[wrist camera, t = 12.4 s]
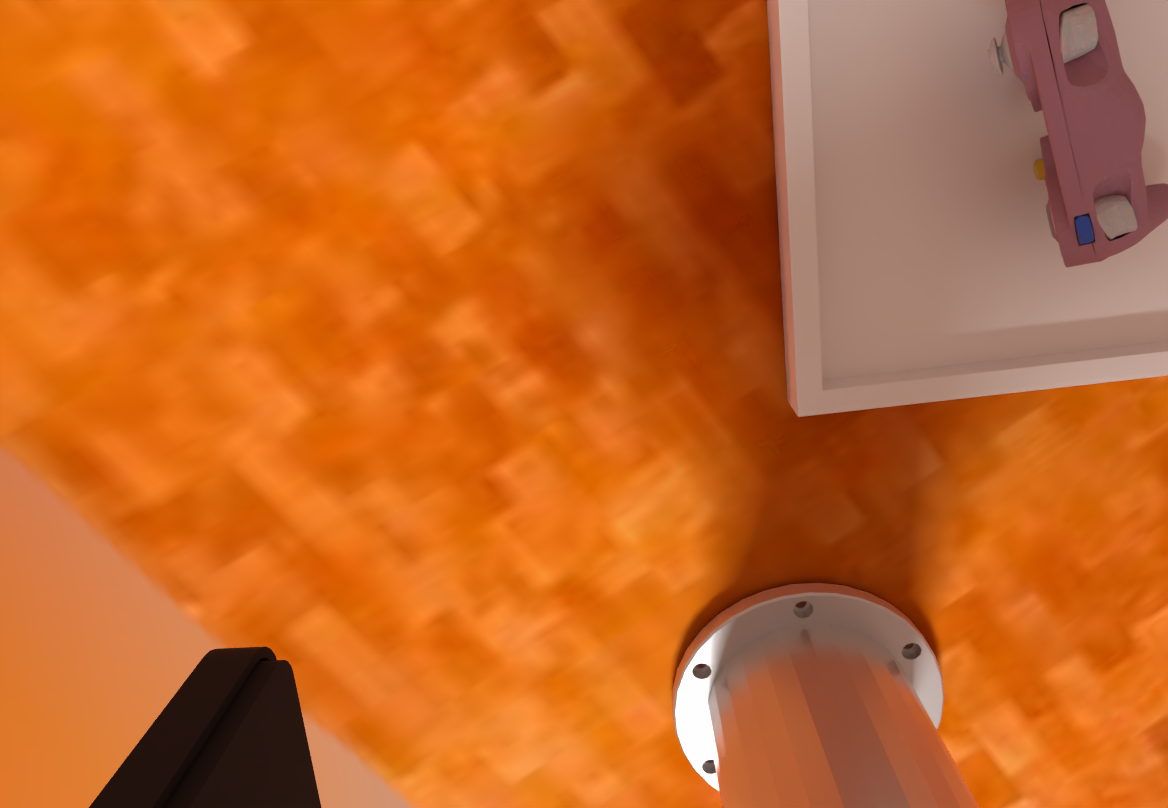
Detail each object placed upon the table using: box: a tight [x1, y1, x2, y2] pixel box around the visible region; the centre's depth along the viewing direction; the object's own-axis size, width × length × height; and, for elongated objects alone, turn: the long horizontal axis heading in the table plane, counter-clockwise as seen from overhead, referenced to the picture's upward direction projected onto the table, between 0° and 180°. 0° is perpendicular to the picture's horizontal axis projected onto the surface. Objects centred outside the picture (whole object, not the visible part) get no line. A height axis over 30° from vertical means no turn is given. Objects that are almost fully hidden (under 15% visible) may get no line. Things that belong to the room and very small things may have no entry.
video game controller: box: [988, 0, 1168, 268], centre depth 28 cm, size 10×5×7 cm, turn 23°
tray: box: [767, 0, 1168, 417], centre depth 30 cm, size 20×20×2 cm
